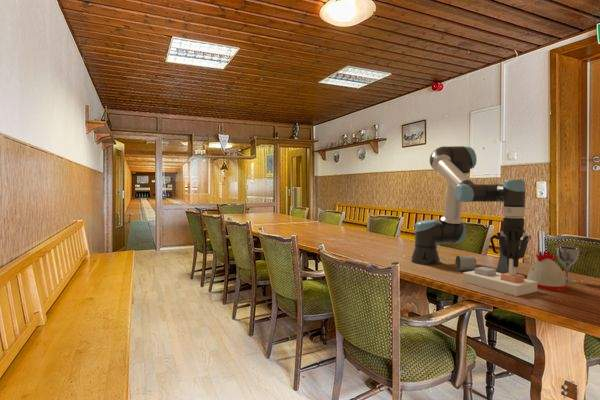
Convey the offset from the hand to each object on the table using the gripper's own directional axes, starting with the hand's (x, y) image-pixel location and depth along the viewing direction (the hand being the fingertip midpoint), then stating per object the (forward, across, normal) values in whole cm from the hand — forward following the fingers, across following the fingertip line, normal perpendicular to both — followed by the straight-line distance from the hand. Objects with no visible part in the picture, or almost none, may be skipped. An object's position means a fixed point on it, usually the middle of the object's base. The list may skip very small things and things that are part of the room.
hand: (512, 274), depth 146 cm
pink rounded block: (+4, 0, 0) cm, 4 cm away
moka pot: (+7, -19, +26) cm, 33 cm away
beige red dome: (+7, +3, +19) cm, 20 cm away
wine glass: (+7, +3, +36) cm, 37 cm away
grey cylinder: (+7, -32, +13) cm, 36 cm away
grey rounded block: (+4, -12, 0) cm, 13 cm away
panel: (+7, -6, 0) cm, 9 cm away
